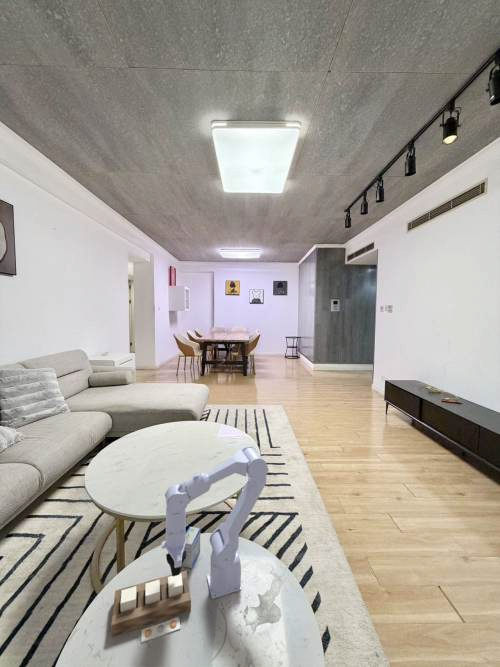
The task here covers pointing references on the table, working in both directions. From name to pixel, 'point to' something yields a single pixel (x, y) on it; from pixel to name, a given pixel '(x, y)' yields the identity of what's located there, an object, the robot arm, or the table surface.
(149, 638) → the pattern card
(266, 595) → the table surface
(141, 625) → the board
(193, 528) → the medicine box
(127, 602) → the button
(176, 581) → the button
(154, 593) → the button middle
